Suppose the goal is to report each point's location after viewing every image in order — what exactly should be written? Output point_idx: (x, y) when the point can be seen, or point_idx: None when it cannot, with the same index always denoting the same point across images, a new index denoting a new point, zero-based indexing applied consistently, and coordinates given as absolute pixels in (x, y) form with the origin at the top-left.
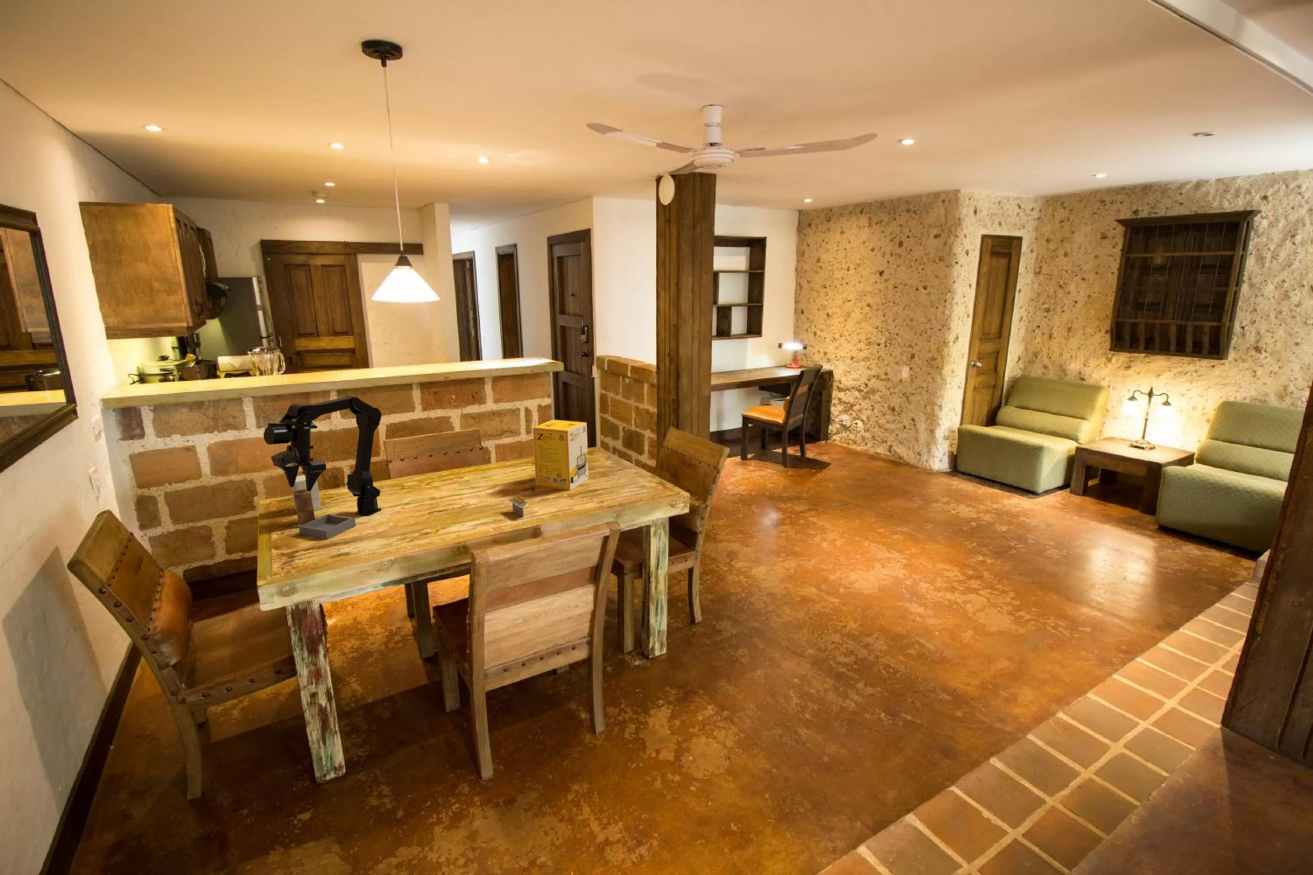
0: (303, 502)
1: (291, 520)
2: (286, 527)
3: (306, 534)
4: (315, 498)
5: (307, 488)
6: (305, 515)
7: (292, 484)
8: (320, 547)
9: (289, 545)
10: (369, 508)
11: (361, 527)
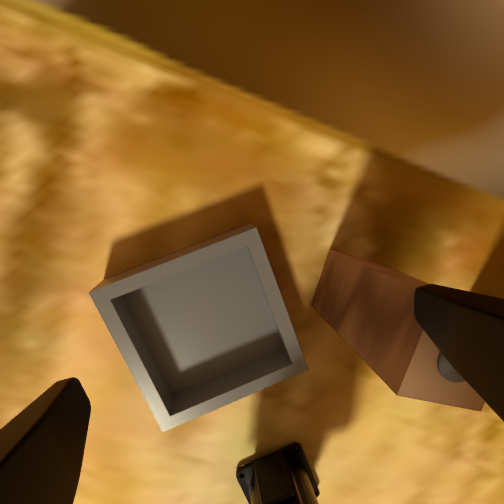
0: (379, 318)
1: (430, 256)
2: (375, 215)
3: (215, 237)
4: None
5: (23, 412)
6: (341, 290)
7: (434, 323)
8: (28, 227)
9: (161, 145)
10: (253, 500)
11: (135, 415)
